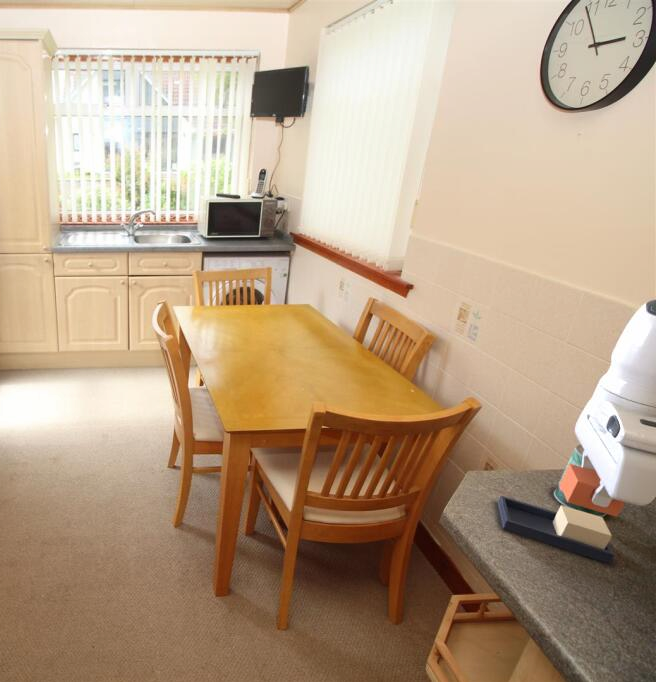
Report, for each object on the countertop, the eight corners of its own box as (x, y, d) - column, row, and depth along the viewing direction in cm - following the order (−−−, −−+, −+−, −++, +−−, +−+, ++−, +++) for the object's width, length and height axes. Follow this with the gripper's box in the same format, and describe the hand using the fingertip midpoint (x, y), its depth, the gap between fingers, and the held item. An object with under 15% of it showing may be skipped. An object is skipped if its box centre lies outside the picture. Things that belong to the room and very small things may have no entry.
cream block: (593, 534, 84) (602, 517, 82) (602, 554, 79) (612, 536, 78) (552, 522, 86) (560, 504, 85) (558, 540, 82) (567, 522, 80)
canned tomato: (584, 519, 88) (608, 471, 84) (543, 491, 95) (564, 445, 91) (617, 515, 89) (643, 467, 85) (575, 487, 96) (597, 442, 92)
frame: (595, 534, 85) (600, 525, 84) (609, 564, 78) (614, 555, 77) (497, 503, 91) (500, 495, 90) (502, 529, 85) (506, 520, 84)
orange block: (567, 502, 72) (577, 481, 70) (559, 484, 76) (569, 463, 74) (617, 517, 69) (629, 495, 68) (606, 497, 73) (617, 476, 72)
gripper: (582, 378, 76) (550, 450, 82) (627, 439, 60) (583, 524, 65) (634, 388, 74) (597, 462, 79) (696, 455, 57) (644, 543, 62)
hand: (591, 490), depth 72 cm, fingers closed on orange block, 5 cm apart
